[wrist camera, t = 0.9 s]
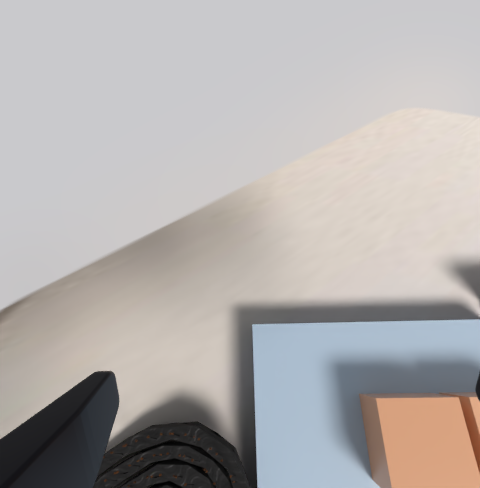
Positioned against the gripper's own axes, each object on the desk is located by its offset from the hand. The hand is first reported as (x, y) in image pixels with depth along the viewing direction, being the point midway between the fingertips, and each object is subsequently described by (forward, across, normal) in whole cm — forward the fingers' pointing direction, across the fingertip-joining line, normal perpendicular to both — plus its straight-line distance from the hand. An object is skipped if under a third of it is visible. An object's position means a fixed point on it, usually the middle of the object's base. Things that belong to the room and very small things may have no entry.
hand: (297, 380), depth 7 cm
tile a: (+6, -7, +10) cm, 13 cm away
